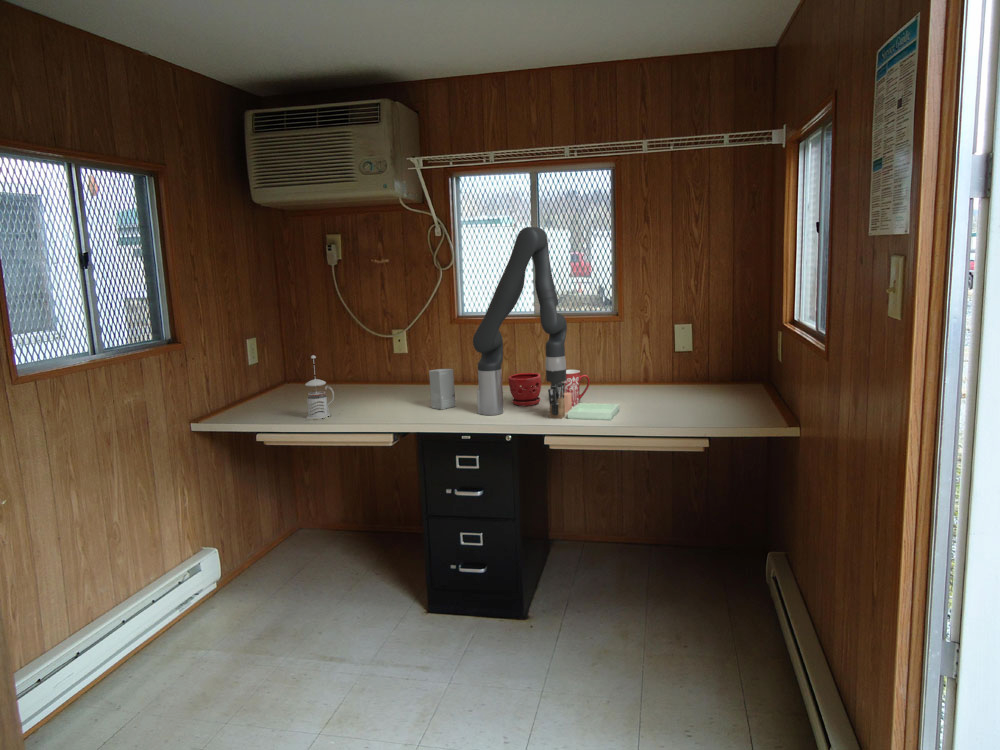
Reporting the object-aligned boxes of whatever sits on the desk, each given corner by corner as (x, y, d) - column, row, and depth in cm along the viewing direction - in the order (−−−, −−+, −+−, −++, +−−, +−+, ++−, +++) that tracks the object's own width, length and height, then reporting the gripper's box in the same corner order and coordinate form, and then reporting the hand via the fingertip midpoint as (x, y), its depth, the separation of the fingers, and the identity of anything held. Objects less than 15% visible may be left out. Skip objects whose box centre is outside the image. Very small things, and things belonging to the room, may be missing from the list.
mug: (558, 407, 289) (557, 373, 286) (558, 402, 298) (557, 369, 295) (590, 406, 288) (589, 372, 285) (589, 401, 296) (589, 368, 294)
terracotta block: (557, 412, 280) (556, 394, 278) (560, 410, 284) (560, 392, 282) (568, 412, 278) (568, 394, 277) (571, 410, 282) (571, 392, 281)
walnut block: (550, 418, 270) (549, 400, 269) (553, 415, 274) (552, 397, 273) (561, 418, 269) (561, 400, 268) (564, 416, 273) (564, 397, 272)
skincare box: (441, 410, 293) (439, 371, 291) (429, 408, 298) (427, 370, 296) (456, 406, 300) (454, 368, 297) (445, 404, 304) (442, 367, 302)
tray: (567, 418, 268) (567, 411, 268) (578, 409, 283) (578, 402, 282) (610, 420, 263) (610, 413, 262) (619, 410, 277) (619, 404, 277)
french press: (308, 415, 296) (302, 354, 292) (337, 413, 297) (331, 352, 293) (304, 420, 287) (298, 357, 282) (334, 418, 288) (328, 356, 283)
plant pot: (516, 400, 306) (514, 372, 304) (545, 401, 301) (544, 372, 299) (505, 406, 294) (503, 377, 292) (536, 407, 289) (534, 378, 287)
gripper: (551, 365, 276) (553, 408, 279) (540, 371, 263) (542, 417, 266) (570, 365, 274) (572, 409, 277) (560, 371, 261) (562, 417, 263)
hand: (557, 412), depth 271 cm, fingers open, 5 cm apart
